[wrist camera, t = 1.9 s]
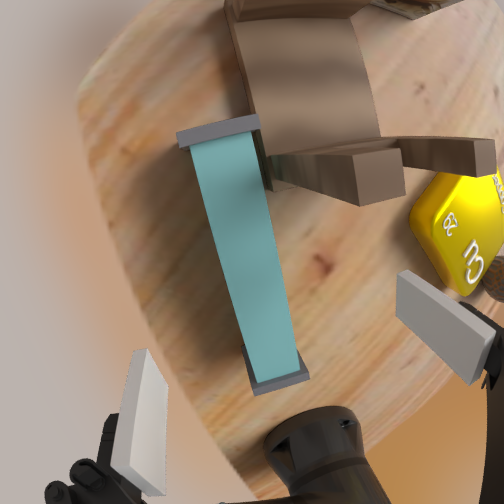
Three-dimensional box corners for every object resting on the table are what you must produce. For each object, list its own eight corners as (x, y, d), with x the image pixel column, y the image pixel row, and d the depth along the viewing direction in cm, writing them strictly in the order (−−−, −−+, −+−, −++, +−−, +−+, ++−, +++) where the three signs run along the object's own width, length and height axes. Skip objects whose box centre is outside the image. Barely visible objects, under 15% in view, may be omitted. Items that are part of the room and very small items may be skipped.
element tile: (495, 215, 32) (518, 223, 28) (445, 290, 34) (467, 304, 29) (461, 134, 27) (489, 136, 23) (400, 217, 29) (429, 228, 24)
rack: (374, 167, 26) (500, 189, 12) (268, 189, 25) (355, 233, 11) (332, 3, 20) (421, -68, 6) (223, 7, 19) (253, -105, 5)
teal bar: (289, 339, 30) (309, 379, 24) (243, 353, 30) (254, 396, 24) (242, 124, 23) (258, 113, 17) (182, 139, 22) (175, 132, 16)
